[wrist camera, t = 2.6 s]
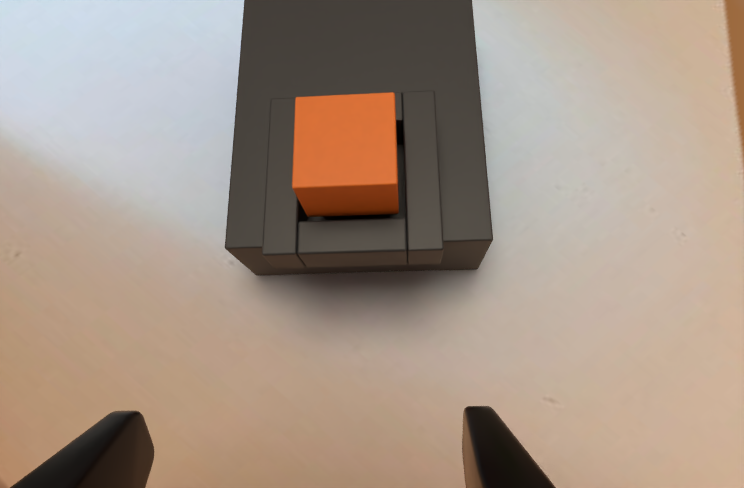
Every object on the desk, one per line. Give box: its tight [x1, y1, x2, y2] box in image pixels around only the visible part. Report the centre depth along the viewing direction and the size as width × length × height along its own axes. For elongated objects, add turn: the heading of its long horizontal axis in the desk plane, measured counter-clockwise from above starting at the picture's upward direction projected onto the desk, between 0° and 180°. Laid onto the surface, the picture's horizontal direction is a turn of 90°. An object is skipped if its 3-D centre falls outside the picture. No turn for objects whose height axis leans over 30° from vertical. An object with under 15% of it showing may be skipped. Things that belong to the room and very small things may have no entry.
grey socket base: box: [225, 0, 493, 275], centre depth 22 cm, size 13×10×6 cm
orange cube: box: [292, 92, 399, 217], centre depth 17 cm, size 3×3×3 cm
